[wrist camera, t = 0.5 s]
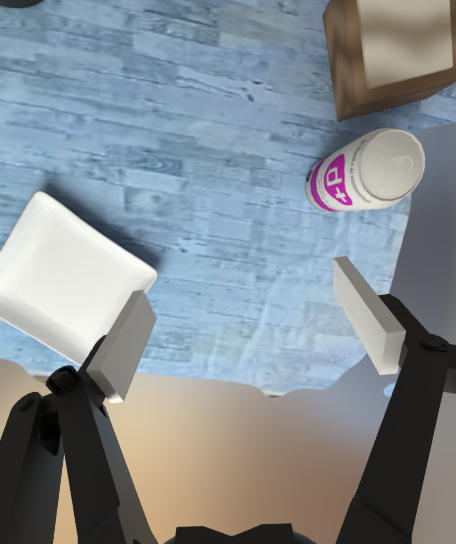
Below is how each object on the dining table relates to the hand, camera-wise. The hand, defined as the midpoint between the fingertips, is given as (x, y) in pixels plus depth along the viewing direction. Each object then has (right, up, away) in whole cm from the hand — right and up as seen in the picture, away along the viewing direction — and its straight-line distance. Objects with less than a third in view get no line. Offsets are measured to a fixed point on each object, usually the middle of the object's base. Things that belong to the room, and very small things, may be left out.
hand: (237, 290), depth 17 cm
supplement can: (+15, +15, +23) cm, 32 cm away
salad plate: (-26, 0, +25) cm, 36 cm away
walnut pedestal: (+21, +33, +20) cm, 44 cm away
